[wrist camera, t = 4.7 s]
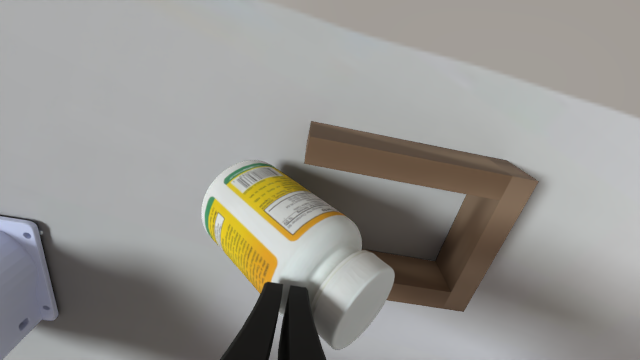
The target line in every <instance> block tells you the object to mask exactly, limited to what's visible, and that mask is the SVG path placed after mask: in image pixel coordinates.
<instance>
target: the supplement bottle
mask: <svg viewBox="0 0 640 360" xmlns="http://www.w3.org/2000/svg"><path fill="white" fill-rule="evenodd" d="M202 222H203V225H204V228H205V230H206V231H207V233H208V234H209V235H210V236H211V238H212V239H213V240H214V241H215V242H216V243H217V245H218V246H219V247H220V248H221V249H222V250H223V251H224V252H225V253H226V255H227V256H228V257H229V258H230V259H231V260H232V261H233V263H234V264H235V265H236V266H237V267H238V268H239V270H240V271H241V272H242V273H243V274H244V275H245V277H246V278H247V279H248V280H249V281H250V282H251V283H252V284H253V286H254V287H255V288H256V289H257V290H258V292H259V293H260V294H261V292H262V289H263V286H264V283H266V282H273V283H280V284H283V291H282V298H281V304H280V309H279V314H280V315H281V316H283V317H284V312H285V308H286V303H287V299H288V294H289V289H290V285H293V286H299V287H306V288H307V289H308V294H309V301H310V306H311V311H312V315H313V319H314V323H315V326H316V330H317V333H318V334H319V335H320V336H321V337H322V338H323V339H324V340H325V341H326V342H327V343H328V344H329V345H330V346H331V347H332V348H333V349H335V350H340V349H343V348H345V347H346V346H348V345H350V344H351V343H352V342H353V341H355V340H356V339H357V338H358V337H359V336H360V335H361V334H362V333H363V332H364V331H365V330H366V328H367V327H368V326H369V325H370V324H371V322H372V321H373V320H374V318H375V317H376V316H377V314H378V313H379V311H380V310H381V308H382V306H383V305H384V303H385V301H386V299H387V298H388V296H389V293H390V291H391V289H392V286H393V283H394V278H395V273H394V270H393V269H392V268H391V267H390V266H389V265H387V264H386V263H385V262H383V261H382V260H381V259H379V258H378V257H377V256H376V255H375V254H374V253H371V252H368V251H366V250H362V238H361V234H360V231H359V229H358V227H357V226H356V225H355V223H354V222H353V221H352V220H350V219H349V218H348V217H346V216H345V215H344V214H342V213H341V212H339V211H338V210H336V209H335V208H333V207H332V206H330V205H329V204H327V203H326V202H325V201H323V200H322V199H320V198H319V197H317V196H316V195H314V194H313V193H311V192H310V191H308V190H307V189H306V188H304V187H303V186H301V185H300V184H299V183H297V182H296V181H294V180H293V179H291V178H290V177H288V176H287V175H285V174H284V173H282V172H281V171H279V170H278V169H276V168H275V167H273V166H272V165H270V164H268V163H266V162H263V161H257V160H250V161H244V162H240V163H237V164H235V165H233V166H231V167H229V168H228V169H226V170H225V171H223V172H222V173H221V174H220V175H219V176H218V177H217V178H216V179H215V180H214V181H213V183H212V184H211V185H210V187H209V189H208V190H207V192H206V194H205V197H204V200H203V204H202Z"/></svg>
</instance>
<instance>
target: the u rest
mask: <svg viewBox="0 0 640 360" xmlns="http://www.w3.org/2000/svg"><path fill="white" fill-rule="evenodd" d="M304 164H309V165H314V166H320V167H325V168H330V169H336V170H341V171H346V172H352V173H357V174H362V175H367V176H373V177H378V178H383V179H389V180H394V181H399V182H405V183H410V184H415V185H421V186H426V187H431V188H436V189H442V190H447V191H452V192H458V193H463V194H467V195H466V197H465V199H464V201H463V203H462V205H461V208H460V210H459V212H458V214H457V216H456V218H455V220H454V222H453V224H452V227H451V229H450V231H449V233H448V235H447V237H446V239H445V241H444V244H443V246H442V248H441V250H440V252H439V254H438V256H437V258H436V261H430V260H424V259H418V258H412V257H406V256H400V255H394V254H388V253H382V252H376V251H370V250H366V251H368V252H371V253H374V254H375V255H376V256H377V257H378V258H379V259H381V260H382V261H383V262H385V263H386V264H387V265H389V266H390V267H391V268H392V269H393V270H394V273H395V278H394V283H393V286H392V289H391V291H390V293H389V296H388V298H387V299H386V300H389V301H396V302H403V303H409V304H416V305H422V306H429V307H436V308H442V309H449V310H455V311H462V312H464V310H465V308H466V307H467V305H468V303H469V301H470V300H471V298H472V296H473V294H474V293H475V291H476V289H477V287H478V286H479V284H480V282H481V281H482V279H483V277H484V275H485V274H486V272H487V270H488V268H489V267H490V265H491V263H492V261H493V260H494V258H495V256H496V254H497V253H498V251H499V249H500V248H501V246H502V244H503V242H504V241H505V239H506V237H507V235H508V234H509V232H510V230H511V228H512V227H513V225H514V223H515V222H516V220H517V218H518V216H519V215H520V213H521V211H522V209H523V208H524V206H525V204H526V202H527V201H528V199H529V197H530V196H531V194H532V192H533V190H534V189H535V187H536V185H537V183H538V182H539V181H537V180H536V179H534V178H533V177H531V176H530V175H528V174H527V173H525V172H524V171H522V170H520V169H519V168H517V167H516V166H514V165H513V164H511V163H510V162H508V161H506V160H501V159H496V158H491V157H487V156H482V155H477V154H472V153H467V152H462V151H457V150H452V149H447V148H442V147H437V146H432V145H427V144H422V143H417V142H412V141H407V140H402V139H397V138H392V137H387V136H382V135H377V134H372V133H367V132H362V131H358V130H353V129H348V128H343V127H338V126H333V125H328V124H323V123H318V122H313V121H311V125H310V130H309V135H308V140H307V145H306V154H305V162H304ZM362 250H364V249H362Z"/></svg>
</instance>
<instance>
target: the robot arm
mask: <svg viewBox="0 0 640 360" xmlns="http://www.w3.org/2000/svg"><path fill="white" fill-rule="evenodd" d="M282 291H283V284H280V283H273V282H266V283H264V286H263V289H262V292H261V294H260V296H259V298H258V301H257V303H256V304H255V306H254V308H253V310H252V312H251V314H250V315H249V317H248V319H247V320H246V322H245V324H244V325H243V327H242V329H241V330H240V332H239V333H238V335H237V336H236V338H235V339H234V341H233V342H232V343H231V345H230V346H229V348H228V349H227V351H226V352H225V353H224V355H223V356H222V358H221V359H220V360H269V356H270V352H271V348H272V343H273V338H274V333H275V328H276V323H277V318H278V314H279V309H280V304H281V298H282ZM57 317H58V310H57V306H56V301H55V297H54V293H53V289H52V285H51V281H50V276H49V272H48V268H47V264H46V260H45V256H44V251H43V247H42V243H41V239H40V235H39V231H38V227H37V225H36V224H35V223H34V222H31V221H28V220H21V219H15V218H9V217H2V216H0V360H3V359H4V358H5V357H6V356H7V355H8V354H9V352H10V351H11V350H12V349H13V348H14V347H15V346H16V345H17V344H18V343H19V342H20V341H21V340H22V339H23V338H24V337H25V336H26V335H27V334H28V333H29V332H30V331H31V330H32V329H33V328H34V327H35V326H36V325H37V324H38V323H39V322H40V321H41V320H48V321H53V320H55V319H56V318H57ZM278 360H326V357H325V355H324V352H323V349H322V346H321V343H320V340H319V336H318V333H317V330H316V326H315V323H314V319H313V315H312V311H311V306H310V301H309V294H308V289H307V288H306V287H299V286H293V285H290V289H289V294H288V299H287V303H286V308H285V312H284V317H283V322H282V328H281V335H280V342H279V349H278Z"/></svg>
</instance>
